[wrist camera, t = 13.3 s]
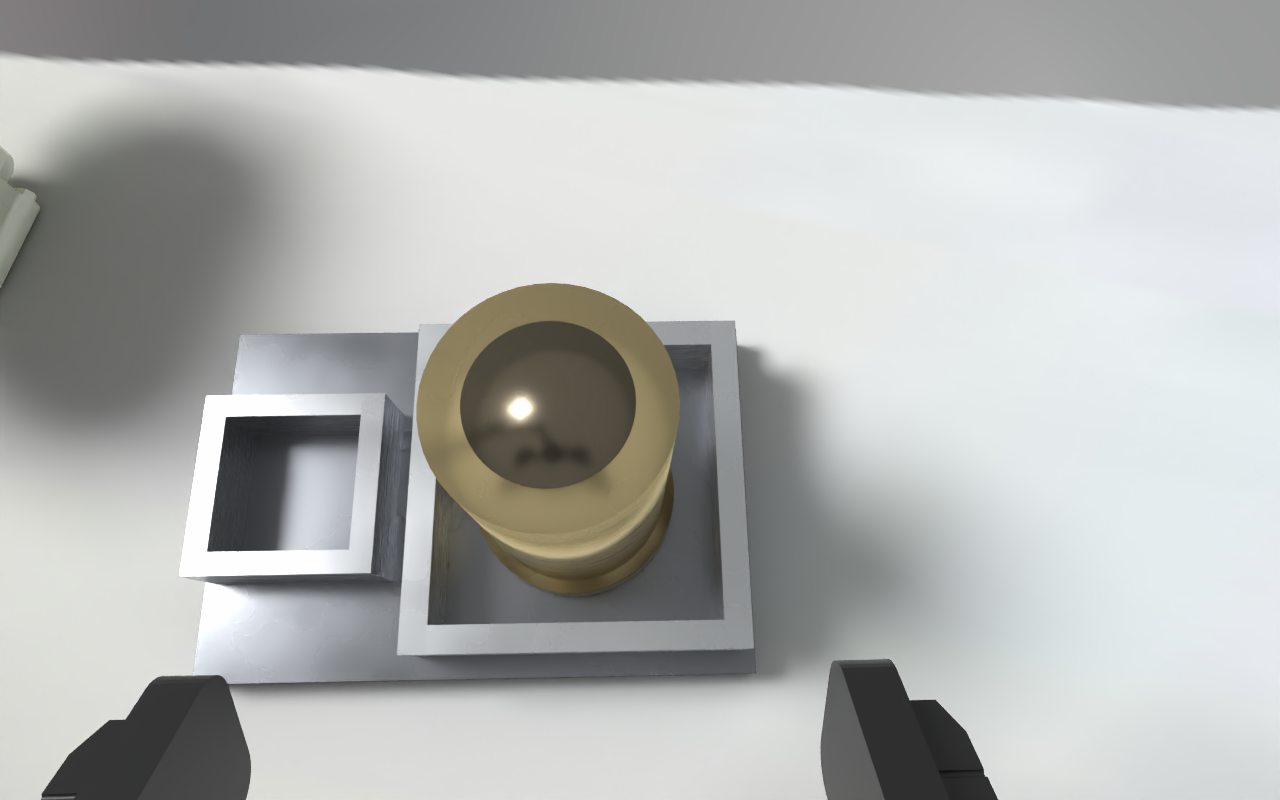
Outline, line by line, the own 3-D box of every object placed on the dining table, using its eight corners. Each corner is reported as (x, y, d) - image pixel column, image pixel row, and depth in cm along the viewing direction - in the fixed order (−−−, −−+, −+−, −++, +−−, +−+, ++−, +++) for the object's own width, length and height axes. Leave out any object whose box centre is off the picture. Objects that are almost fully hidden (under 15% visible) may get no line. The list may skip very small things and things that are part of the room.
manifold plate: (212, 683, 23) (150, 685, 20) (256, 349, 26) (208, 307, 23) (749, 673, 24) (767, 673, 20) (731, 343, 27) (744, 301, 24)
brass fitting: (477, 597, 23) (386, 552, 14) (486, 409, 25) (410, 268, 16) (673, 595, 23) (701, 550, 14) (669, 408, 25) (692, 268, 16)
